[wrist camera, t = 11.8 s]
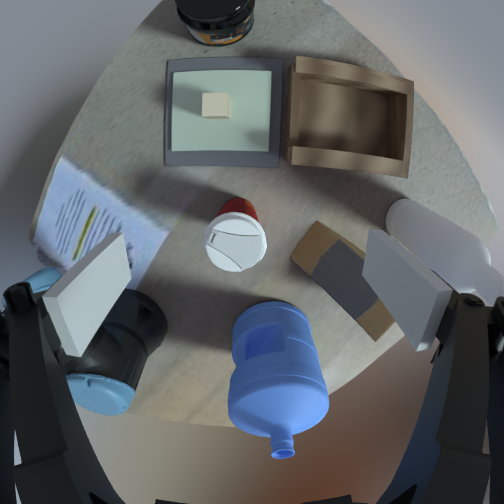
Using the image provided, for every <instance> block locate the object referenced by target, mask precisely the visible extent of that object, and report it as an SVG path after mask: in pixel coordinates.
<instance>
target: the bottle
mask: <svg viewBox="0 0 504 504" xmlns="http://www.w3.org/2000/svg"><path fill="white" fill-rule="evenodd" d="M386 227H387V231H388V232H389V233H390V234H391V236H393V238H394V239H395V240H396V241H398V242H400V243H401V244H402V245H403V246H404V247H406V248H407V249H408V250H409V251H410V252H411V253H413V254H414V255H415V256H416V257H417V258H418V259H419V260H421V261H422V262H423V263H424V264H425V265H426V266H427V267H428V268H429V269H431V270H433V271H435V272H436V273H437V274H438V275H439V276H440V277H441V278H443V279H444V280H445V282H447V283H448V284H449V285H450V286H451V287H452V288H454V289H455V290H456V291H459V292H462V293H471V292H473V291H475V290H476V291H477V292H478V293H479V294H480V295H481V296H482V297H484V298H485V299H486V300H487V301H488V302H489V303H490V304H491V305H492V306H494V304H495V301H496V299H497V297H499V296H503V297H504V276H503V275H502V274H500V273H499V272H498V271H497V270H495V269H494V268H493V267H491V266H490V265H491V260H490V254H489V251H488V250H487V248H486V246H485V245H484V244H483V242H482V241H481V240H480V239H479V238H477V237H476V236H474V235H473V234H471V233H469V232H468V231H466V230H465V229H463V228H461V227H459V226H458V225H456V224H454V223H453V222H451V221H449V220H447V219H446V218H444V217H442V216H440V215H438V214H437V213H435V212H433V211H431V210H429V209H427V208H425V207H423V206H422V205H420V204H418V203H417V202H415V201H412V200H410V199H400V200H397V201H396V202H395V203H393V204H392V205H391V207H390V208H389V210H388V212H387V215H386Z"/></svg>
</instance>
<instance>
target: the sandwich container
mask: <svg viewBox="0 0 504 504" xmlns="http://www.w3.org/2000/svg"><path fill="white" fill-rule="evenodd" d="M365 254H366V253H364V252H363V251H362V250H360V249H359V248H358V247H357V246H355V245H354V244H352V243H351V242H349V241H348V240H346V239H345V238H343V237H342V236H340V235H339V234H337V233H336V232H334V231H333V230H331V229H330V228H328V227H327V226H325V225H324V224H322V223H321V222H319V221H315V223H314V224H313V225H312V227H311V228H310V229H309V230H308V232H307V233H306V234H305V236H304V237H303V238H302V240H301V241H300V243H299V244H298V245H297V247H296V248H295V250H294V251H293V253H292V254H291V256H290V258H291V259H292V260H293V261H294V262H296V263H297V264H298V265H299V266H300V267H301V268H302V269H303V270H304V271H305V272H306V273H307V274H308V275H309V276H310V277H311V278H313V279H314V280H315V281H316V282H317V283H318V284H319V285H320V286H321V287H322V288H323V289H324V290H325V291H326V292H327V293H328V294H329V295H330V296H331V297H332V298H333V299H334V300H335V301H336V302H337V303H338V304H339V305H340V306H341V307H342V308H343V309H344V310H345V311H346V312H347V313H348V314H349V315H350V316H351V317H352V318H353V319H354V320H355V321H356V322H357V323H358V324H359V325H360V326H361V327H362V328H363V329H364V330H365V331H366V332H367V334H368V335H369V336H370V337H371V338H372V339H373V340H374V341H375V342H376V341H377V340H378V339H379V338H380V337H381V336H382V335H383V334H384V333H385V332H386V331H387V330H388V329H389V328H390V327H391V326H392V325H393V324H394V323H395V322H396V321H395V319H394V318H393V317H392V315H391V314H390V312H389V311H388V310H387V308H386V307H385V305H384V304H383V303H382V301H381V300H380V298H379V297H378V296H377V294H376V293H375V292H374V290H373V289H372V288H371V286H370V285H369V284H368V282H367V281H366V280H365V278H364V277H363V276H362V272H363V266H364V260H365Z"/></svg>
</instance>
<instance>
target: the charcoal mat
mask: <svg viewBox="0 0 504 504" xmlns="http://www.w3.org/2000/svg"><path fill="white" fill-rule="evenodd" d="M207 70H257V71H272V75H271V103H270V128H269V152H266V151H234V150H199V151H172V97H173V76H174V73H176V72H188V71H207ZM282 78H283V59H271V58H250V57H213V58H192V59H179V60H169V61H168V74H167V92H166V123H165V166H250V167H273V168H278V164H279V146H280V126H281V103H282Z"/></svg>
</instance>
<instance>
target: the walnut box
mask: <svg viewBox="0 0 504 504" xmlns="http://www.w3.org/2000/svg"><path fill="white" fill-rule="evenodd" d="M413 108H414V81H411V80H408V79H405V78H402V77H399V76H395V75H392V74H388V73H385V72H381V71H377V70H373V69H369V68H365V67H361V66H356V65H351V64H347V63H341V62H336V61H330V60H324V59H318V58H311V57H303V56H296V57H295V59H294V60H293V62H292V64H291V65H290V67H289V81H288V107H287V128H286V147H285V160H286V161H287V162H289V163H290V164H291V165H303V166H315V167H326V168H336V169H345V170H354V171H362V172H369V173H376V174H383V175H390V176H396V177H402V178H408V171H409V163H410V153H411V142H412V129H413Z"/></svg>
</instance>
